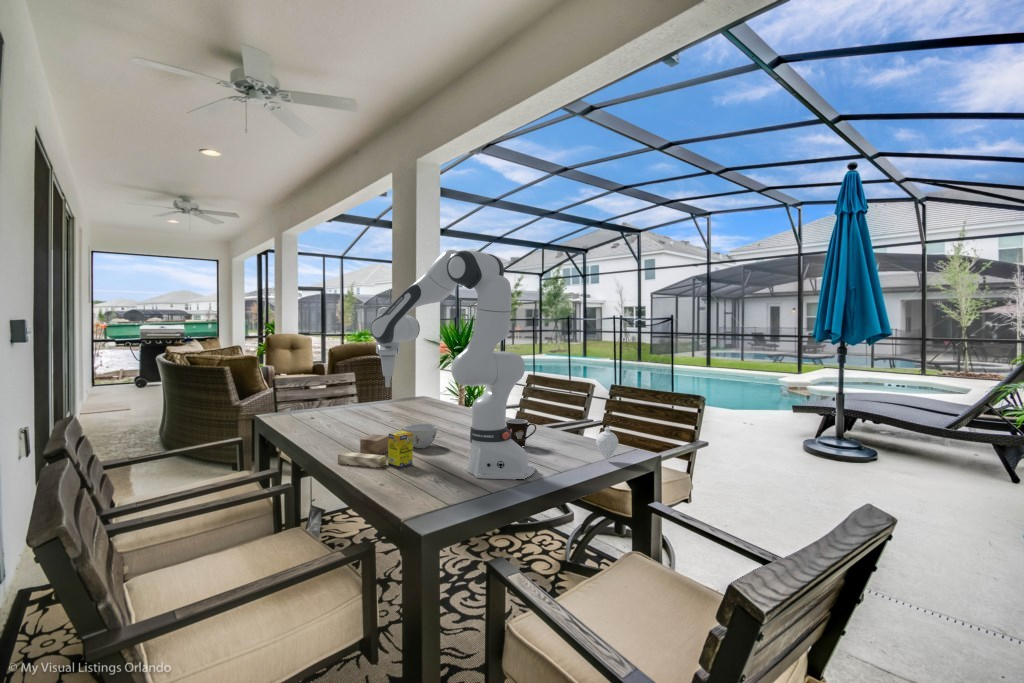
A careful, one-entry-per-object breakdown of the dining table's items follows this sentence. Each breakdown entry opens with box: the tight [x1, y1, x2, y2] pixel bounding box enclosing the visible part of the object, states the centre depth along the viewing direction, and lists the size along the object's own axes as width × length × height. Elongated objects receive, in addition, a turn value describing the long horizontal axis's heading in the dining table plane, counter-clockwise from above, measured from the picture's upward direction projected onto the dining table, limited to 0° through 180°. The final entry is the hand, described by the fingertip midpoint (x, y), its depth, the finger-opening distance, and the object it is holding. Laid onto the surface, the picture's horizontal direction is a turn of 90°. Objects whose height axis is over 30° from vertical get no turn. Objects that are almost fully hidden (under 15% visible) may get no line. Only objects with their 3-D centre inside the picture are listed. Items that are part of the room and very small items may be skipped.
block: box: [359, 433, 388, 455], centre depth 172 cm, size 7×8×6 cm
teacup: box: [399, 423, 439, 449], centre depth 182 cm, size 15×12×8 cm
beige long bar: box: [337, 451, 387, 468], centre depth 159 cm, size 16×4×3 cm, turn 75°
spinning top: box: [595, 427, 619, 460], centre depth 164 cm, size 8×8×12 cm
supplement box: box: [387, 430, 414, 469], centre depth 158 cm, size 6×6×11 cm
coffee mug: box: [505, 418, 537, 447], centre depth 183 cm, size 12×9×10 cm
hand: (387, 384), depth 178 cm, fingers open, 8 cm apart
